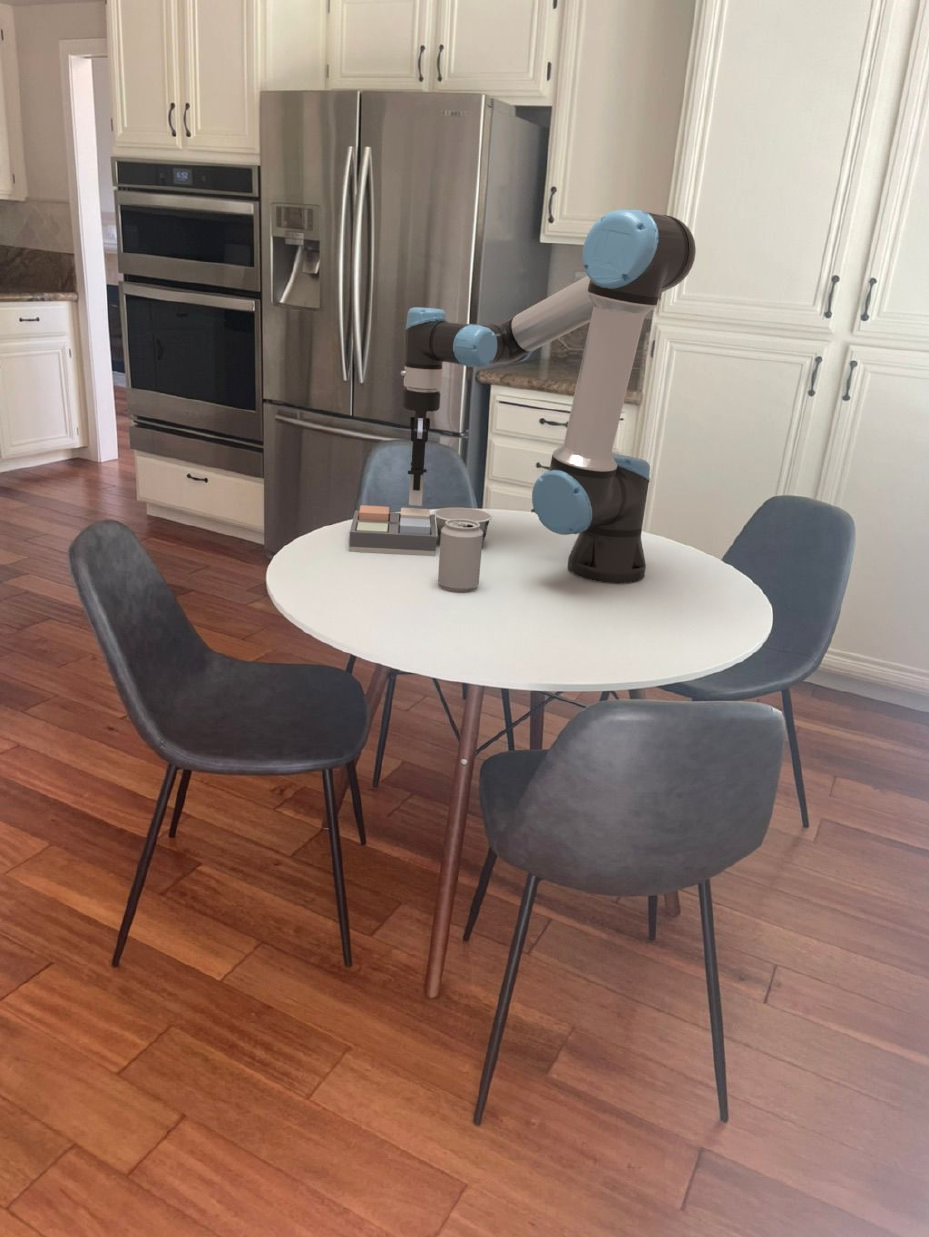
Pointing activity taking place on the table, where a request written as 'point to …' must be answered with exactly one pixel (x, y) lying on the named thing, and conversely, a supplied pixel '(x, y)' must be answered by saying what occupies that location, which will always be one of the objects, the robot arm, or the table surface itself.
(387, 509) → the key
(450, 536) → the can
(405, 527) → the key
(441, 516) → the food container
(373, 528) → the key
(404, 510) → the key
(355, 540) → the keypad
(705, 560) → the table surface
